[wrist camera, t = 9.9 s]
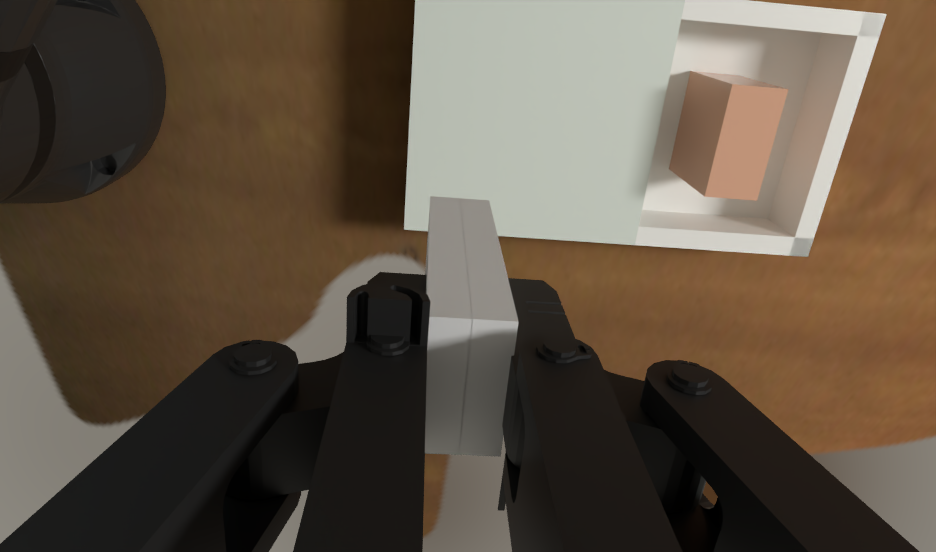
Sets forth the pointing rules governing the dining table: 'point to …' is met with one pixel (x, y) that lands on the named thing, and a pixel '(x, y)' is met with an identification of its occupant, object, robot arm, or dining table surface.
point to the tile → (726, 134)
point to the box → (799, 131)
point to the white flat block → (539, 111)
